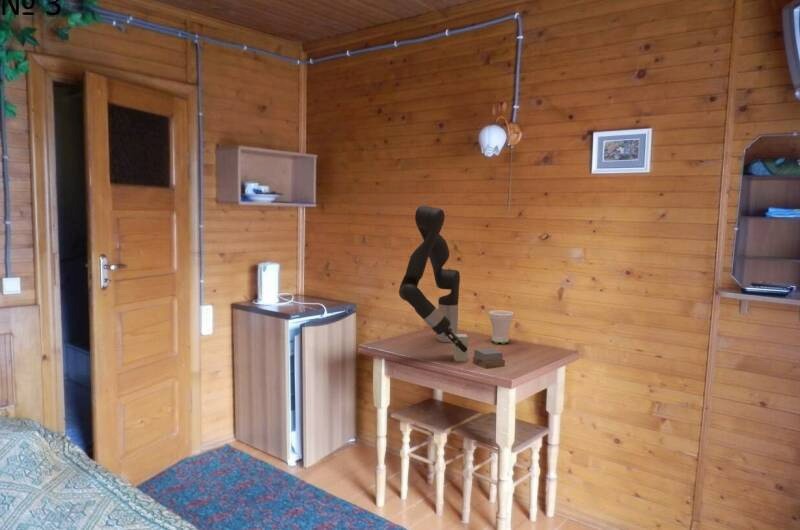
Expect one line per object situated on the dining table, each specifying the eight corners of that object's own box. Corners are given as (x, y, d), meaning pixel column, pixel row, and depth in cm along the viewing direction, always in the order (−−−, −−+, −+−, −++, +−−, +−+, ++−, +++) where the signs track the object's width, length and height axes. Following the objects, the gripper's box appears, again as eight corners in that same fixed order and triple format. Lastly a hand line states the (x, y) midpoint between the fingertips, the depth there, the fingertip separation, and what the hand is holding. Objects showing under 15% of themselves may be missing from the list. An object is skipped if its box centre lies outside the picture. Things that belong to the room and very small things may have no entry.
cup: (494, 346, 260) (495, 315, 259) (484, 340, 271) (485, 310, 270) (516, 345, 263) (517, 314, 262) (505, 339, 274) (507, 309, 273)
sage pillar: (453, 357, 240) (453, 334, 239) (464, 357, 241) (465, 334, 239) (455, 360, 235) (455, 336, 234) (467, 360, 236) (468, 336, 234)
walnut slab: (472, 364, 233) (472, 356, 232) (490, 361, 237) (490, 354, 237) (486, 370, 225) (486, 362, 224) (504, 367, 229) (504, 359, 229)
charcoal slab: (474, 356, 233) (474, 349, 232) (491, 354, 236) (491, 347, 236) (484, 361, 225) (485, 354, 225) (502, 359, 229) (502, 352, 228)
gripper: (446, 317, 228) (474, 346, 230) (440, 310, 242) (467, 338, 244) (432, 330, 228) (460, 359, 230) (427, 323, 242) (454, 350, 245)
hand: (463, 348), depth 237 cm, fingers open, 7 cm apart
